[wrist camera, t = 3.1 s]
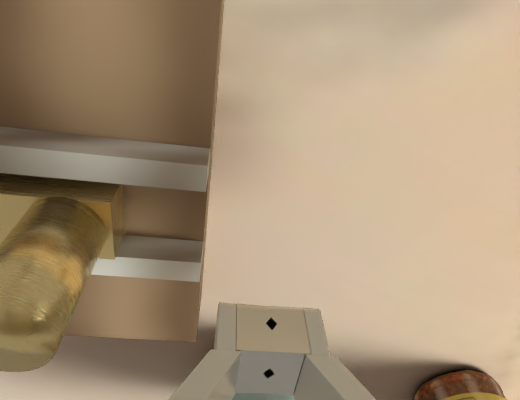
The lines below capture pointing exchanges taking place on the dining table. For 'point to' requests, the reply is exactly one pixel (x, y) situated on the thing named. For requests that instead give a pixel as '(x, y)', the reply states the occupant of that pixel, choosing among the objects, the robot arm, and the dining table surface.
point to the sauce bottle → (461, 387)
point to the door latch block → (121, 141)
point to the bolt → (49, 258)
